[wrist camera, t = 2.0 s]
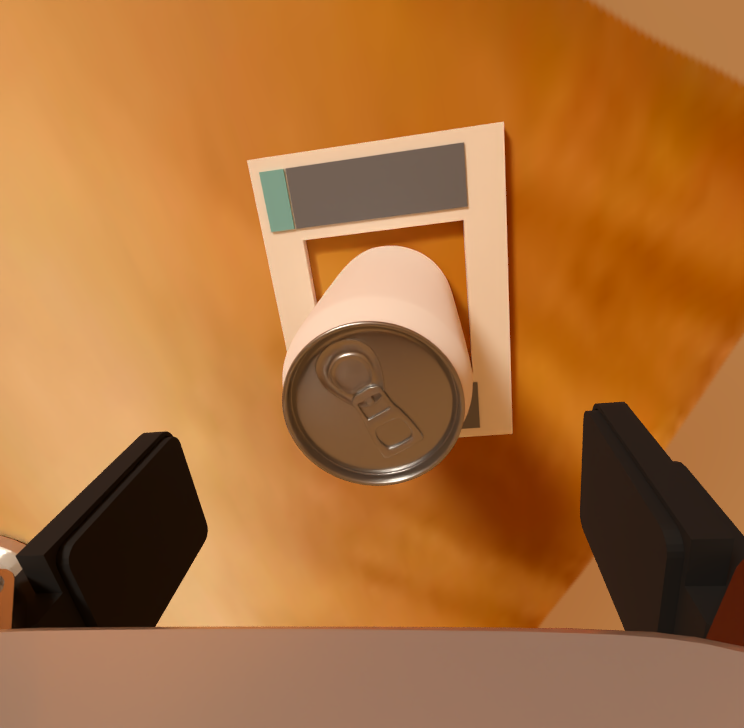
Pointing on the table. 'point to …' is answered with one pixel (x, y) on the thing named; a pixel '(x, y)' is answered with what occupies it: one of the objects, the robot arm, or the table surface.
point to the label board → (398, 210)
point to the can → (379, 371)
